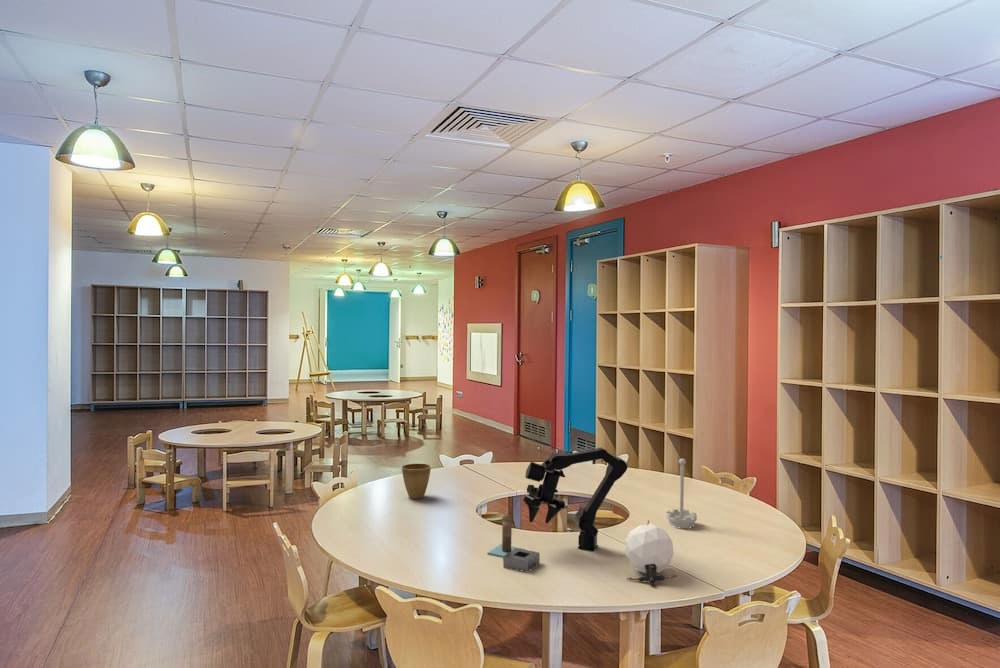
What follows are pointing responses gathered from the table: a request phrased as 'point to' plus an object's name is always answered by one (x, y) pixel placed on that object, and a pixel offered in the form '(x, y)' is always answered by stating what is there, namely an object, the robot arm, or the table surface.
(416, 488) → the plant pot
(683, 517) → the flag stand
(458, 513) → the table surface
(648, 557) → the white faceted globe lamp
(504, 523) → the brown wooden pin
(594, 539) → the robot arm
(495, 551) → the blue square plate
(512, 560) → the block
